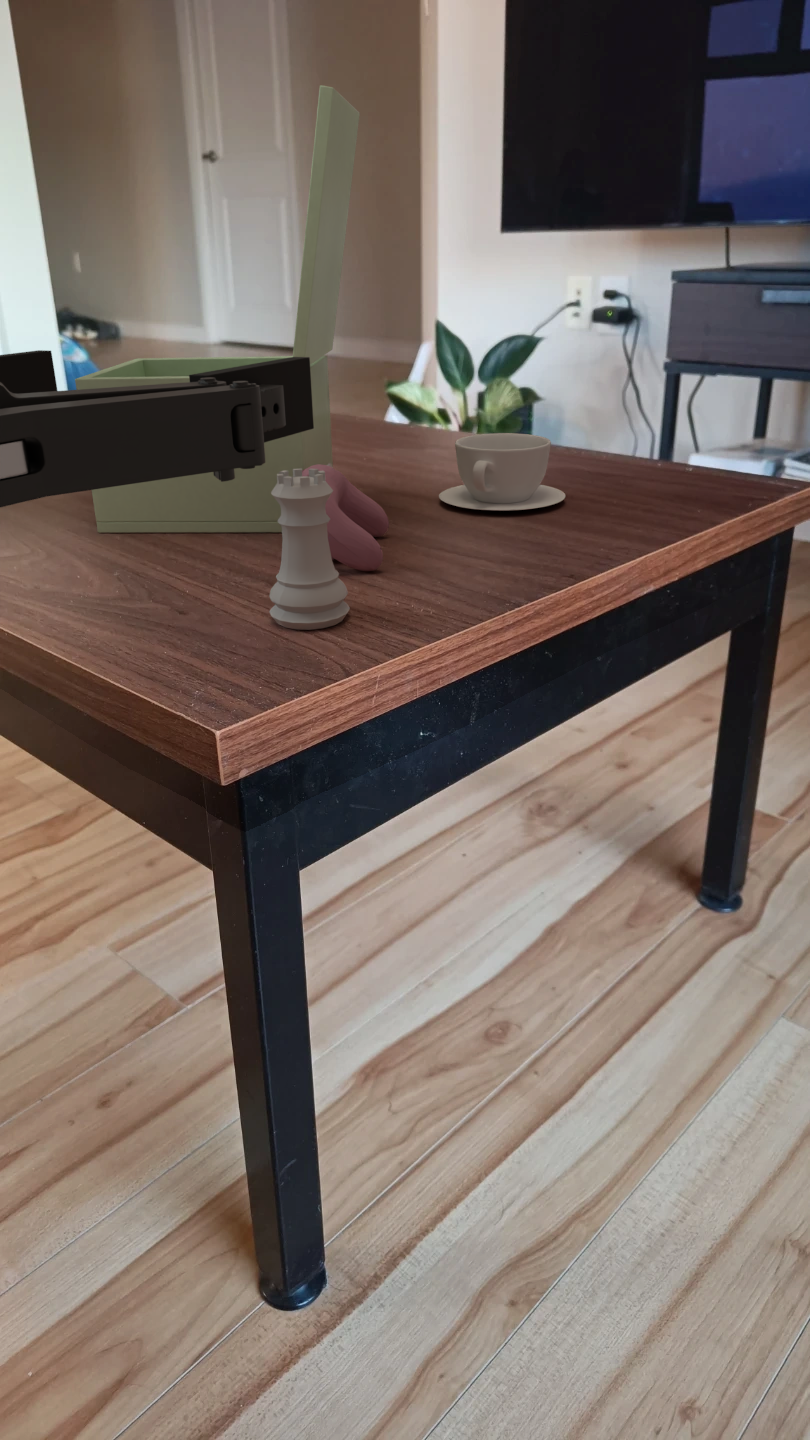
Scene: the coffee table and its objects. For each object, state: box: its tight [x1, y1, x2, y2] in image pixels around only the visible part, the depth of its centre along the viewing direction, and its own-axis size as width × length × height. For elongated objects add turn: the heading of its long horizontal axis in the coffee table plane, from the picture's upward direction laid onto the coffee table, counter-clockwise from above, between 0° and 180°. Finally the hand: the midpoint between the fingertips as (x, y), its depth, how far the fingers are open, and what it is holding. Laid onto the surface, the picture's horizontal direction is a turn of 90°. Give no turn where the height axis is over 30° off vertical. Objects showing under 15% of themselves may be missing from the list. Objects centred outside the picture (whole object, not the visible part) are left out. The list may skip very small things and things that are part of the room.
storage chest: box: [74, 355, 334, 534], centre depth 79 cm, size 16×14×11 cm
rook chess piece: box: [268, 468, 351, 631], centre depth 55 cm, size 4×4×8 cm
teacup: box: [438, 432, 566, 512], centre depth 81 cm, size 10×10×5 cm
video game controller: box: [302, 463, 390, 572], centre depth 68 cm, size 10×5×7 cm, turn 178°
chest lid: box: [292, 85, 361, 365], centre depth 72 cm, size 16×14×1 cm
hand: (169, 387), depth 44 cm, fingers open, 13 cm apart
